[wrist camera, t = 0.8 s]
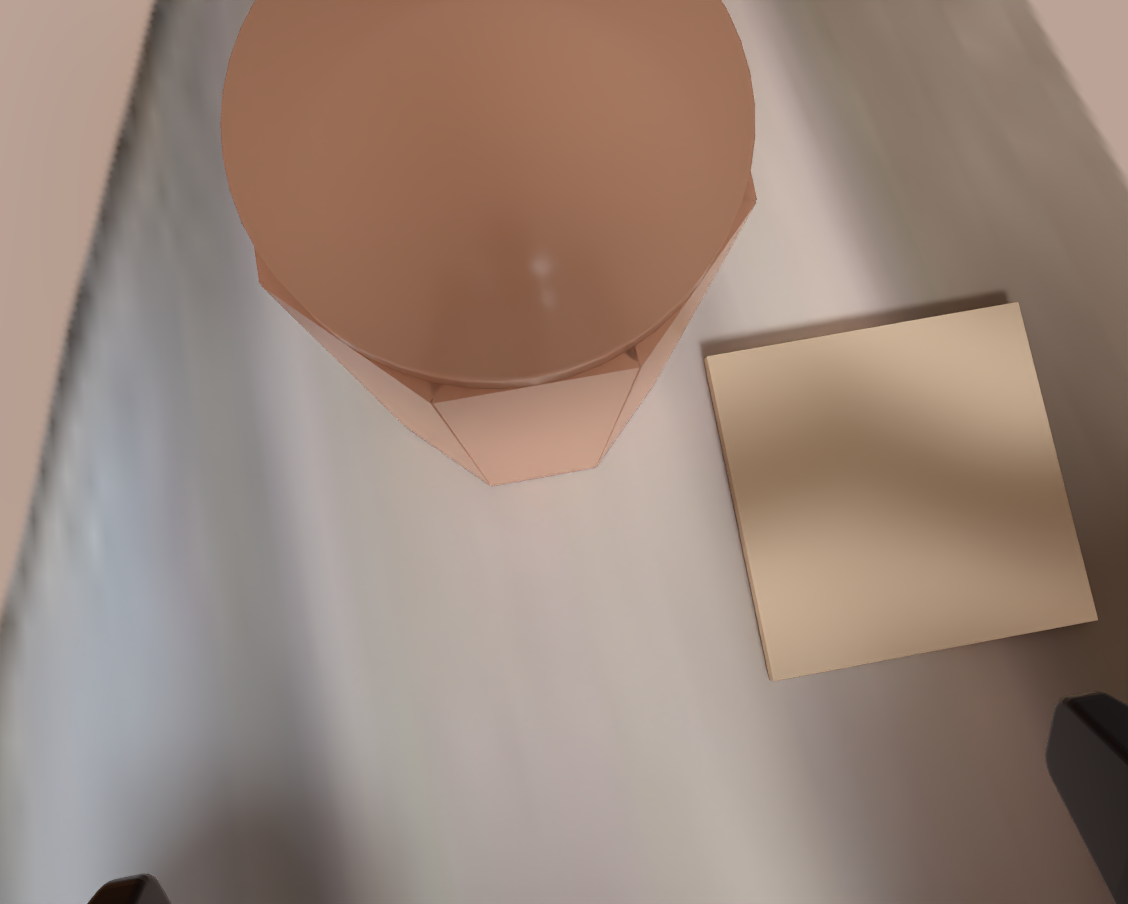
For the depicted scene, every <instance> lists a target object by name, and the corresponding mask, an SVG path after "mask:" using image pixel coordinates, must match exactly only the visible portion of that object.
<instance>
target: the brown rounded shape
mask: <svg viewBox="0 0 1128 904" xmlns="http://www.w3.org/2000/svg"><path fill="white" fill-rule="evenodd" d="M221 138H222V152H223V160H224V165H225V170H226V174H227V179H228V184H229V188H230V192H231V195H232V197H233V200H234V203H235V206H236V208H237V211H238V214H239V217H240V219H241V222H242V224H243V226H244V228H245V229H246V231H247V233H248V235H249V237H250V239H251V241H252V243H253V245H254V249H255V256H256V262H257V269H258V276H259V283H260V284H261V285H262V287H263V288H264V289H265V290H266V291H267V292H268V293H269V294H270V295H271V296H272V297H273V298H274V299H275V300H276V301H277V302H278V303H279V304H280V305H281V306H282V307H283V308H284V309H285V310H286V311H287V312H288V313H289V314H290V315H291V316H292V317H293V318H295V319H296V320H297V321H298V322H299V323H300V324H301V325H302V326H303V327H304V328H305V329H306V330H307V331H308V332H309V333H310V334H311V335H312V336H313V337H314V338H315V339H316V340H317V341H318V342H319V343H320V344H321V345H322V346H323V347H324V348H325V349H326V350H327V351H328V352H329V353H330V354H331V355H332V356H333V357H334V358H335V359H336V360H337V361H338V362H339V363H341V364H342V365H343V366H344V367H345V368H346V369H347V370H348V371H349V372H350V373H351V374H352V375H353V376H354V377H355V378H356V379H357V380H358V381H359V382H360V383H361V384H362V385H363V386H364V387H365V388H366V389H367V390H368V391H369V392H370V393H371V394H372V395H373V396H374V397H375V398H376V399H377V400H378V401H379V402H380V403H381V404H382V405H383V406H384V407H385V408H386V409H388V410H389V411H390V412H391V413H392V414H393V415H394V416H395V417H396V418H397V419H398V420H399V421H400V422H401V423H402V424H403V425H404V426H405V427H406V428H408V429H409V430H411V431H412V432H414V433H415V434H416V435H418V436H419V437H421V438H422V439H424V440H425V441H427V442H428V443H429V444H431V445H432V446H434V447H435V448H437V449H438V450H439V451H441V452H442V453H444V454H445V455H447V456H448V457H450V458H451V459H452V460H454V461H455V462H457V463H458V464H460V465H461V466H462V467H464V468H465V469H467V470H468V471H470V472H471V473H472V474H474V475H475V476H477V477H478V478H480V479H481V480H483V481H484V482H485V483H487V484H488V485H491V486H495V485H501V484H506V483H512V482H518V481H523V480H529V479H534V478H540V477H546V476H551V475H557V474H562V473H568V472H574V471H579V470H585V469H590V468H595V467H596V466H598V464H599V463H600V461H601V460H602V459H603V457H604V456H605V454H606V453H607V451H608V450H609V448H610V447H611V446H612V444H613V443H614V441H615V440H616V438H617V437H618V435H619V434H620V433H621V431H622V430H623V428H624V427H625V425H626V424H627V422H628V421H629V420H630V418H631V417H632V415H633V414H634V412H635V411H636V409H637V408H638V407H639V405H640V404H641V402H642V401H643V399H644V398H645V396H646V395H647V394H648V392H649V391H650V389H651V388H652V386H653V385H654V383H655V382H656V380H657V378H658V377H659V375H660V373H661V371H662V370H663V368H664V366H665V364H666V362H667V361H668V359H669V357H670V355H671V353H672V352H673V350H674V348H675V346H676V345H677V343H678V341H679V339H680V337H681V336H682V334H683V332H684V330H685V329H686V327H687V325H688V323H689V321H690V320H691V318H692V316H693V314H694V312H695V311H696V309H697V307H698V305H699V304H700V302H701V300H702V298H703V296H704V295H705V293H706V291H707V289H708V288H709V286H710V284H711V282H712V280H713V279H714V277H715V275H716V273H717V271H718V270H719V268H720V266H721V264H722V263H723V261H724V259H725V257H726V255H727V254H728V252H729V250H730V248H731V246H732V245H733V243H734V241H735V239H736V238H737V236H738V234H739V232H740V230H741V229H742V227H743V225H744V223H745V222H746V220H747V218H748V216H749V214H750V213H751V211H752V209H753V207H754V205H755V204H756V200H757V198H756V193H755V189H754V184H753V179H752V175H751V164H752V156H753V148H754V141H755V103H754V96H753V89H752V83H751V76H750V70H749V67H748V64H747V60H746V57H745V53H744V50H743V46H742V43H741V40H740V38H739V35H738V33H737V31H736V29H735V26H734V24H733V22H732V20H731V17H730V15H729V13H728V11H727V9H726V7H725V6H724V4H723V2H722V1H721V0H255V2H254V4H253V5H252V7H251V9H250V11H249V13H248V15H247V17H246V19H245V21H244V23H243V25H242V27H241V29H240V32H239V34H238V37H237V40H236V43H235V46H234V48H233V51H232V54H231V57H230V60H229V65H228V69H227V74H226V79H225V83H224V88H223V97H222V111H221Z"/></svg>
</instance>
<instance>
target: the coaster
mask: <svg viewBox="0 0 1128 904" xmlns="http://www.w3.org/2000/svg"><path fill="white" fill-rule="evenodd" d="M704 362H705V367H706V372H707V377H708V382H709V387H710V392H711V397H712V402H713V406H714V411H715V416H716V421H717V426H718V431H719V436H720V441H721V445H722V450H723V455H724V460H725V465H726V470H727V475H728V480H729V484H730V489H731V494H732V499H733V504H734V509H735V514H736V519H737V523H738V528H739V533H740V538H741V543H742V548H743V553H744V558H745V562H746V567H747V572H748V577H749V582H750V587H751V592H752V597H753V601H754V606H755V611H756V616H757V621H758V626H759V631H760V636H761V640H762V645H763V650H764V655H765V660H766V665H767V670H768V675H769V679H770V680H772V681H779V680H784V679H789V678H795V677H800V676H805V675H810V674H816V673H821V672H826V671H832V670H837V669H842V668H847V667H853V666H858V665H863V664H869V663H874V662H879V661H884V660H890V659H895V658H900V657H906V656H911V655H916V654H921V653H927V652H932V651H937V650H943V649H948V648H953V647H959V646H964V645H969V644H974V643H980V642H985V641H990V640H996V639H1001V638H1006V637H1011V636H1017V635H1022V634H1027V633H1033V632H1038V631H1043V630H1048V629H1054V628H1059V627H1064V626H1070V625H1075V624H1080V623H1085V622H1091V621H1096V620H1098V617H1097V613H1096V609H1095V605H1094V601H1093V597H1092V593H1091V589H1090V585H1089V581H1088V577H1087V573H1086V569H1085V565H1084V561H1083V557H1082V553H1081V549H1080V546H1079V542H1078V538H1077V534H1076V530H1075V526H1074V522H1073V518H1072V514H1071V510H1070V506H1069V502H1068V498H1067V494H1066V490H1065V486H1064V482H1063V478H1062V474H1061V470H1060V466H1059V462H1058V458H1057V454H1056V450H1055V446H1054V442H1053V438H1052V434H1051V430H1050V426H1049V423H1048V419H1047V415H1046V411H1045V407H1044V403H1043V399H1042V395H1041V391H1040V387H1039V383H1038V379H1037V375H1036V371H1035V367H1034V363H1033V359H1032V355H1031V351H1030V347H1029V343H1028V339H1027V335H1026V331H1025V327H1024V323H1023V319H1022V315H1021V311H1020V307H1019V303H1018V302H1015V303H1009V304H1003V305H997V306H992V307H986V308H980V309H975V310H969V311H963V312H957V313H952V314H946V315H940V316H935V317H929V318H923V319H917V320H912V321H906V322H900V323H895V324H889V325H883V326H877V327H872V328H866V329H860V330H855V331H849V332H843V333H837V334H832V335H826V336H820V337H814V338H809V339H803V340H797V341H792V342H786V343H780V344H774V345H769V346H763V347H757V348H752V349H746V350H740V351H734V352H729V353H723V354H717V355H712V356H707V357H706V358H705V359H704Z"/></svg>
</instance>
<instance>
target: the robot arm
mask: <svg viewBox="0 0 1128 904" xmlns="http://www.w3.org/2000/svg"><path fill="white" fill-rule="evenodd" d="M1046 764H1047V768H1048V771H1049V774H1050V776H1051V778H1052V781H1053V783H1054V784H1055V786H1056V788H1057V790H1058V792H1059V794H1060V796H1061V798H1062V800H1063V802H1064V804H1065V806H1066V808H1067V810H1068V812H1069V814H1070V816H1071V818H1072V820H1073V822H1074V824H1075V826H1076V828H1077V829H1078V831H1079V833H1080V835H1081V837H1082V839H1083V841H1084V843H1085V845H1086V847H1087V849H1088V851H1089V853H1090V855H1091V857H1092V859H1093V861H1094V863H1095V865H1096V867H1097V869H1098V871H1099V873H1100V875H1101V876H1102V878H1103V880H1104V882H1105V884H1106V886H1107V888H1108V890H1109V892H1110V894H1111V896H1112V898H1113V900H1114V902H1115V904H1128V705H1126V704H1125V703H1123V702H1121V701H1119V700H1118V699H1116V698H1114V697H1112V696H1110V695H1108V694H1105V693H1102V692H1098V691H1094V692H1086V693H1081V694H1076V695H1071V696H1065V697H1063V698H1060V700H1059V701H1058V702H1057V703H1056V704H1055V707H1054V712H1053V717H1052V722H1051V727H1050V732H1049V737H1048V742H1047V747H1046ZM87 904H171V902H170V901H169V899H168V897H167V895H166V894H165V892H164V890H163V889H162V887H161V885H160V884H159V882H158V880H157V879H156V878H155V877H154V876H152V875H150V874H140V875H134V876H129V877H124V878H119V879H114V880H112V881H109V882H107V883H106V884H105V885H103V886H102V887H101V888H100V889H99V890H98V891H97V892H96V894H95V895H94V896H93V897H92V898H91V900H90V901H89V902H88V903H87Z"/></svg>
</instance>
